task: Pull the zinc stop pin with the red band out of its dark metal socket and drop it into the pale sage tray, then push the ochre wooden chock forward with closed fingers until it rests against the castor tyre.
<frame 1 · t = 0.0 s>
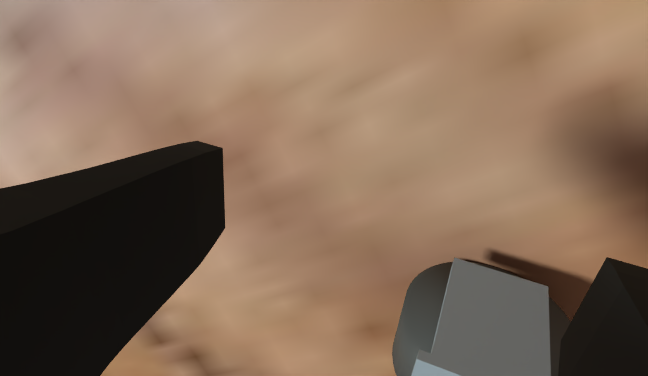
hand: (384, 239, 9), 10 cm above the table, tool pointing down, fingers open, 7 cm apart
castor: (486, 290, 21), on the table
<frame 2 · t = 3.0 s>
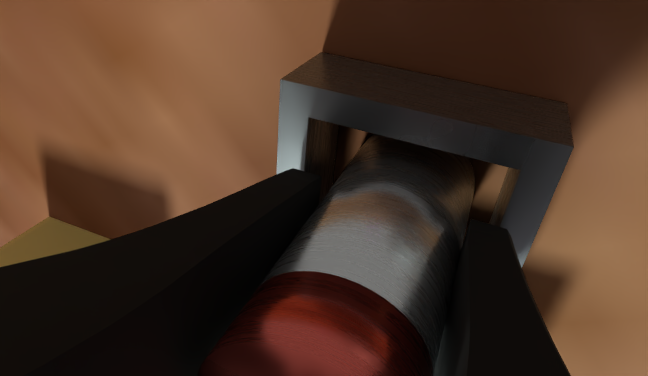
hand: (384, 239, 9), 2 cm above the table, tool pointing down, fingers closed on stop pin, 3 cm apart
pin socket: (411, 180, 11), on the table
chock: (116, 275, 18), on the table
stop pin: (372, 266, 8), in the pin socket, touching gripper
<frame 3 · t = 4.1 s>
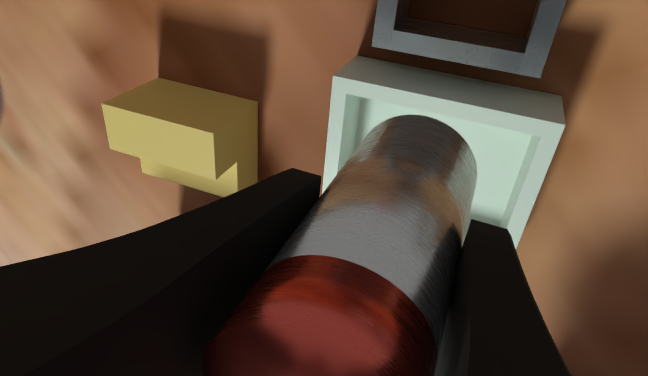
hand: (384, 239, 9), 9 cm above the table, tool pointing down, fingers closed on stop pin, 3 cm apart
chock: (211, 129, 21), on the table
stop pin: (375, 254, 8), point 10 cm above the table, touching gripper
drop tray: (432, 162, 18), on the table
when the fingers open (4 cm above the table, at t = 5.5 s): stop pin drops 1 cm, resting on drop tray.
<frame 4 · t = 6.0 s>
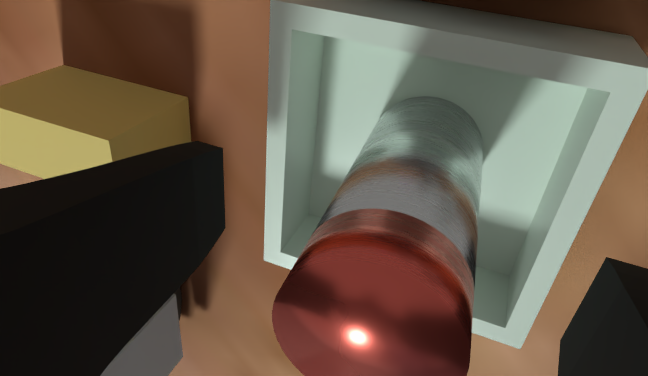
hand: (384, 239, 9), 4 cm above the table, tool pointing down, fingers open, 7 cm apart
chock: (134, 133, 17), on the table
stop pin: (403, 218, 9), in the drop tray
castor: (153, 283, 20), on the table
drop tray: (428, 145, 12), on the table
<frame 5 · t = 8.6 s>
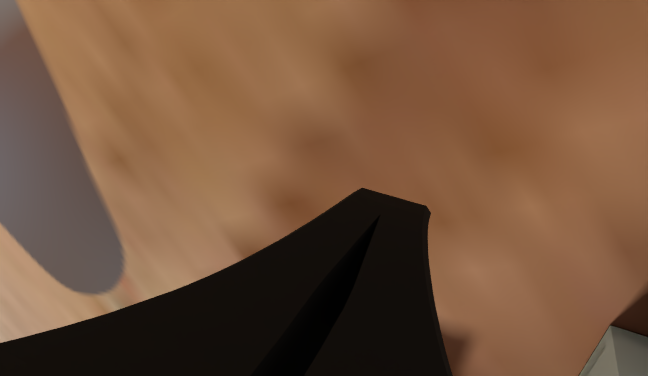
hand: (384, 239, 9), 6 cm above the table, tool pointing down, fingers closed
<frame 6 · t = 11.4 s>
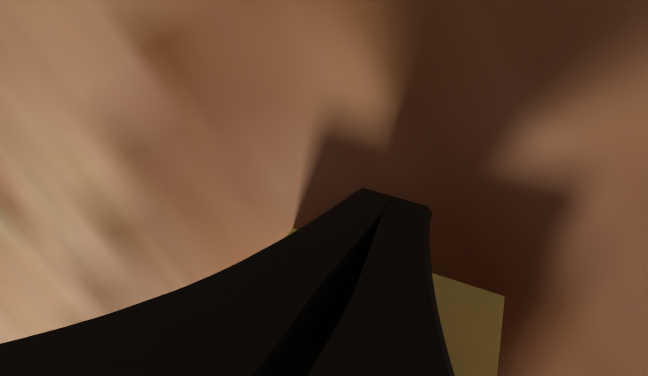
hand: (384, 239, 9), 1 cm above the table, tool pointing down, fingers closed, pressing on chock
chock: (379, 317, 12), on the table, touching castor, gripper
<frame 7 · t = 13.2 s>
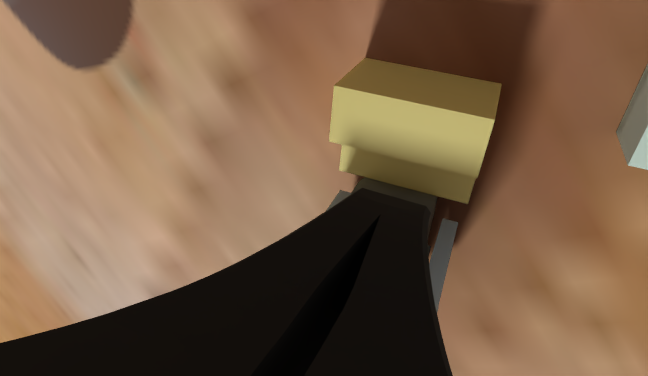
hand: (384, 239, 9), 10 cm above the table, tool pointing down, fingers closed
chock: (421, 118, 18), on the table
castor: (398, 221, 21), on the table
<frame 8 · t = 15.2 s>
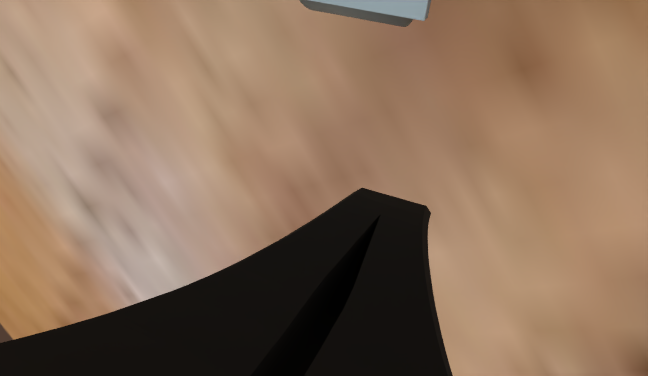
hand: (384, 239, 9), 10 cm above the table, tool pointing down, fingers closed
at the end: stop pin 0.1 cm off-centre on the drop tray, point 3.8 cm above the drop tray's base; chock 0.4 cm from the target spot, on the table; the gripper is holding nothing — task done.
